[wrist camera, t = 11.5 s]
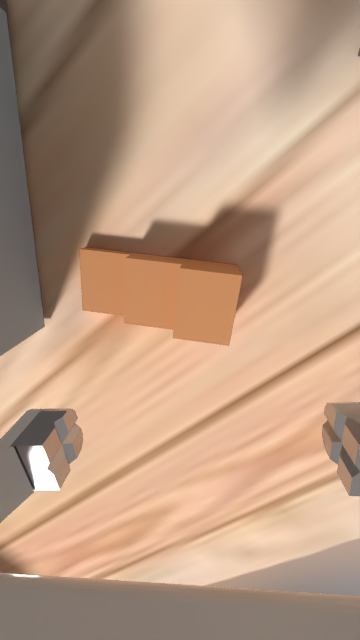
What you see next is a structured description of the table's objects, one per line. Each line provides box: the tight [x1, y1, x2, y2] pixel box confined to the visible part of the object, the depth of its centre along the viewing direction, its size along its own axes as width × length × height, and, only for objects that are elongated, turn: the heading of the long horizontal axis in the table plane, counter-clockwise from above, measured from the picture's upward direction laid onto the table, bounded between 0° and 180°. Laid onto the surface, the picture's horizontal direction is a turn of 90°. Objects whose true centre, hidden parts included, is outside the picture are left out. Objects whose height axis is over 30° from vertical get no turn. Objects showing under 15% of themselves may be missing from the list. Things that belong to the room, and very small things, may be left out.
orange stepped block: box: [79, 247, 243, 346], centre depth 19 cm, size 12×5×4 cm, turn 85°
